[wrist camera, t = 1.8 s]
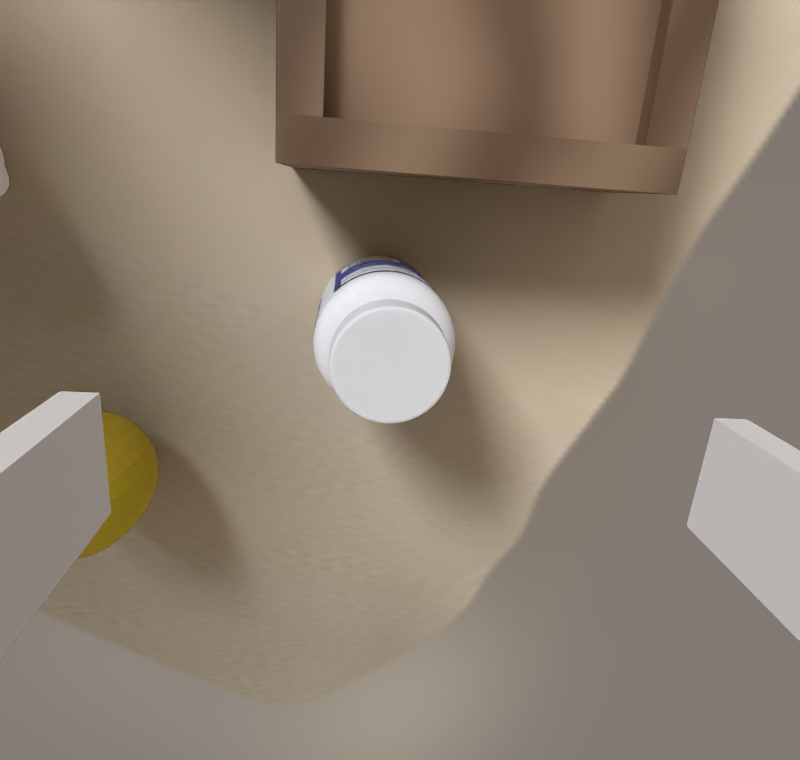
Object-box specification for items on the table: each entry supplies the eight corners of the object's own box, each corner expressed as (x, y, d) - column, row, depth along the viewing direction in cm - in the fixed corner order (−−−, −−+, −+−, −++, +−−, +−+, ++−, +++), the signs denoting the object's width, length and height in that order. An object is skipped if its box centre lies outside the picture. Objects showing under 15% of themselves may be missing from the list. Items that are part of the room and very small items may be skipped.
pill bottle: (399, 383, 28) (420, 468, 20) (301, 335, 27) (278, 403, 19) (454, 287, 27) (501, 334, 18) (353, 231, 26) (355, 255, 17)
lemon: (51, 476, 28) (-58, 583, 21) (68, 372, 27) (-44, 447, 19) (167, 502, 29) (103, 614, 22) (189, 403, 28) (129, 486, 20)
